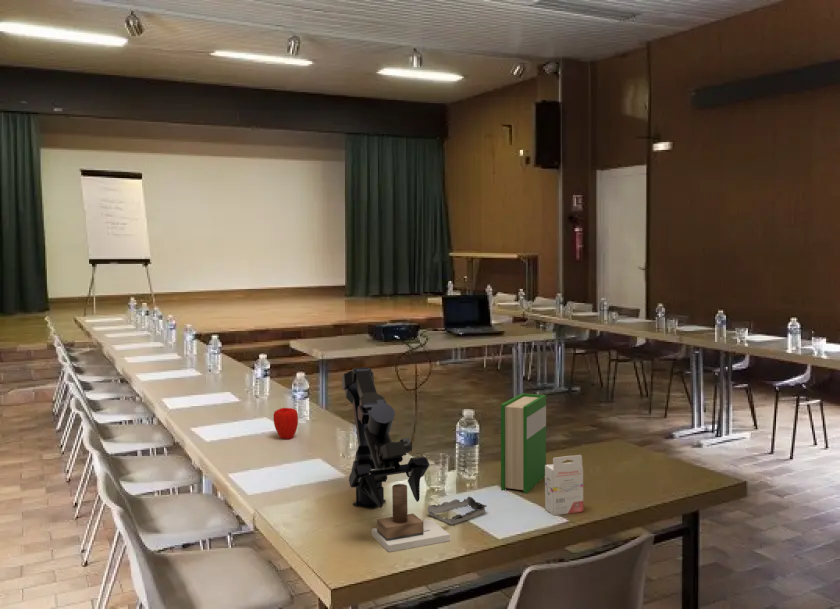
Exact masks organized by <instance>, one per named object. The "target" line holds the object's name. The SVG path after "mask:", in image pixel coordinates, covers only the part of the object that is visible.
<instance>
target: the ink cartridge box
mask: <svg viewBox="0 0 840 609" xmlns="http://www.w3.org/2000/svg"><path fill="white" fill-rule="evenodd" d="M567 460H569V461H571V462H566V461H567ZM544 495H545V496H544V499H545V500H544V501H545V503H544V507H545V508H544V509H545V510H546V511H547V512H548V513H550V514H551V515H552V516H561V515H568V514H573V513H582V512H584V466H583V456H582V454H577V455H566V456H564V455H563V456H558V457H555V456H554V457H553V458H552V464H551V463H550V464H546V465H545V478H544Z"/></svg>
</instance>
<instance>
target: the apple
mask: <svg viewBox="0 0 840 609" xmlns="http://www.w3.org/2000/svg"><path fill="white" fill-rule="evenodd" d="M298 415H299V413H298V411H297V410H296V409H295V408H291V407H281V408H279V409H277V410H274V411H273V425H274V428H275V431H276V433H277V434H278V436H279V438H281V439H284V440H291V439H293V438H294V436H296V435H295V434H296V432H297V429H298V424H299V416H298Z"/></svg>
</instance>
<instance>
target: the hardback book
mask: <svg viewBox="0 0 840 609" xmlns="http://www.w3.org/2000/svg"><path fill="white" fill-rule="evenodd" d="M545 465H547V394H546V395H545V394H535V393H534V394H533V393H524V392H523V393H519V394H518V395H516V396H514V397H513V398H511V399H509V400H506V401H505V402H503V403H501V404H500V490H501V491H503V490H504V491H506V490H507V489H513V490H520V491H523V494H524V493H525V494H526V495H528V494H529V493H530V492H531V490H533V489H534V488H535V487H536V486H537V485H538V484H539V483H540V482H541V481H542V480H543V479H544V478H543V477H544V476H545ZM542 478H543V479H542ZM541 479H542V480H541ZM540 480H541V481H540ZM539 481H540V482H539ZM538 482H539V483H538ZM537 483H538V484H537ZM536 484H537V485H536ZM535 485H536V486H535ZM534 486H535V487H534ZM533 487H534V488H533ZM532 488H533V489H532ZM505 489H506V490H505Z"/></svg>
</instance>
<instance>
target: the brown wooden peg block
mask: <svg viewBox="0 0 840 609" xmlns="http://www.w3.org/2000/svg"><path fill="white" fill-rule="evenodd" d="M391 489H392V490H391V491H392V494H391V495H392V496H391V498H392V516H390V517H389V516H388V517H383V518H377V519H376V528H377V532H378V533H379V534H380V535H381V536H382V537H383V538H384V539H385V540H386V541H390V540H395V539H401V538H407V537H413V536H418V535H423V521H422V520H423V519H421V518H419V517H418V516H417V515H416V514H414V513H408V485H407V484H405V483H397V484H394V485H392V487H391Z"/></svg>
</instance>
